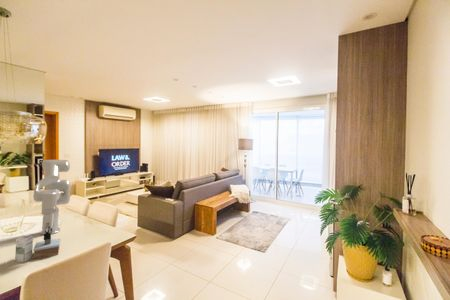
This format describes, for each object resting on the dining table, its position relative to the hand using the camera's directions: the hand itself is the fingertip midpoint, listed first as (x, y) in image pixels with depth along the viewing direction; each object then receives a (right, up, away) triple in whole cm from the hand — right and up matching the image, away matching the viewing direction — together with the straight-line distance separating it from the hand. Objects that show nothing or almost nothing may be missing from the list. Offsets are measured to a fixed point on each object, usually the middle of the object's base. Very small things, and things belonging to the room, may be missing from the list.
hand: (47, 236), depth 138 cm
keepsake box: (-1, -12, 0) cm, 12 cm away
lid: (-1, -7, 0) cm, 7 cm away
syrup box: (-9, -12, -7) cm, 16 cm away
